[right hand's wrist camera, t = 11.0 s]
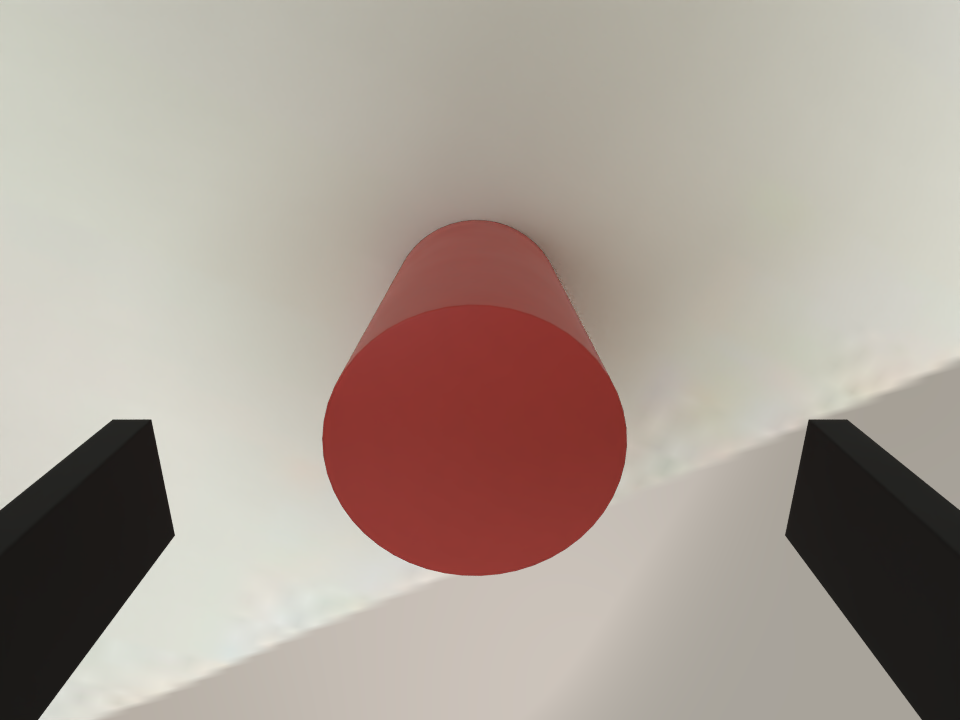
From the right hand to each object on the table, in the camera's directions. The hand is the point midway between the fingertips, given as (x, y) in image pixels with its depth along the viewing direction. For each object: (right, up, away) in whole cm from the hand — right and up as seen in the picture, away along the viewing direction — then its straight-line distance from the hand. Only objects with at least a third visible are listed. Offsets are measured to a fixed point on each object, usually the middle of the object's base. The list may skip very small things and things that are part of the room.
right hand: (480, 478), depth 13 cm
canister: (0, +5, +13) cm, 14 cm away
